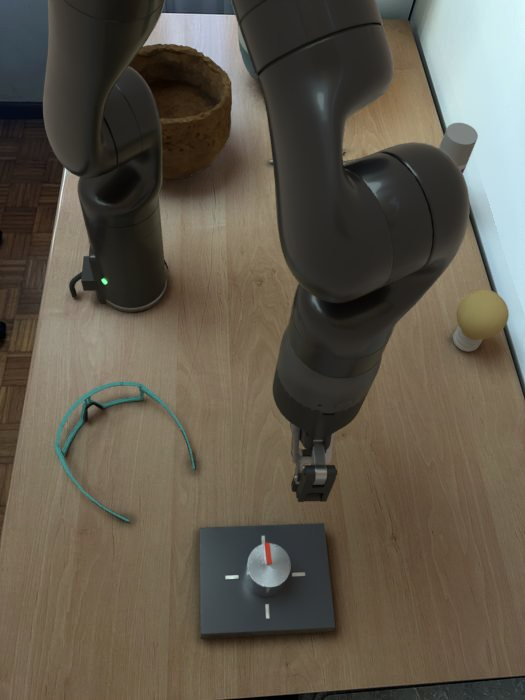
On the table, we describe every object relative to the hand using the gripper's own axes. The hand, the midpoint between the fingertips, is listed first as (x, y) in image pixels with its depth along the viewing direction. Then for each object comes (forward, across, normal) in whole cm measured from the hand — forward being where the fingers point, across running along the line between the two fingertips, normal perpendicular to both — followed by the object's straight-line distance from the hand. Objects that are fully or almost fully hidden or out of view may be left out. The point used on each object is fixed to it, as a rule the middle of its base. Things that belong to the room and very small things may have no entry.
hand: (299, 446), depth 65 cm
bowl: (+17, -56, -15) cm, 61 cm away
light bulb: (+17, -22, +27) cm, 39 cm away
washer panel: (+16, +10, -3) cm, 19 cm away
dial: (+13, +9, -3) cm, 17 cm away
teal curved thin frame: (+17, -6, -19) cm, 26 cm away
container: (+17, -47, +26) cm, 57 cm away
